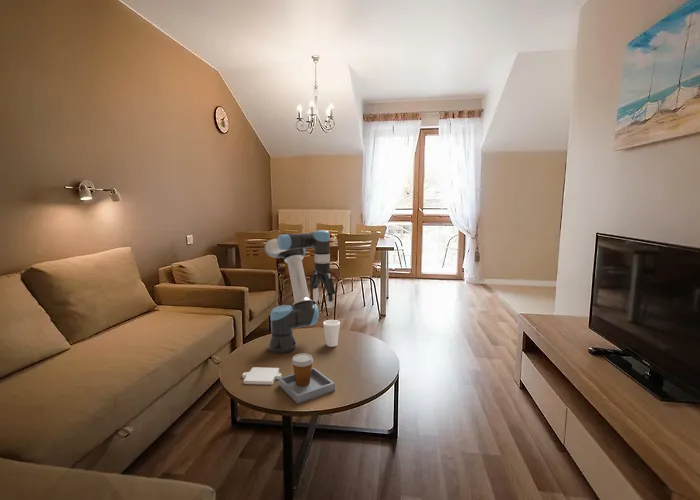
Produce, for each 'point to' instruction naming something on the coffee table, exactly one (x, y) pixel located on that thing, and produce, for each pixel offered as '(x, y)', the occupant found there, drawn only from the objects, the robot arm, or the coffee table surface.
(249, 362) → the coffee table surface
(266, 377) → the mounting plate
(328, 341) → the foam cup
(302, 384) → the disposable coffee cup
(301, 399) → the slate tray
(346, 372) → the coffee table surface
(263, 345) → the coffee table surface
